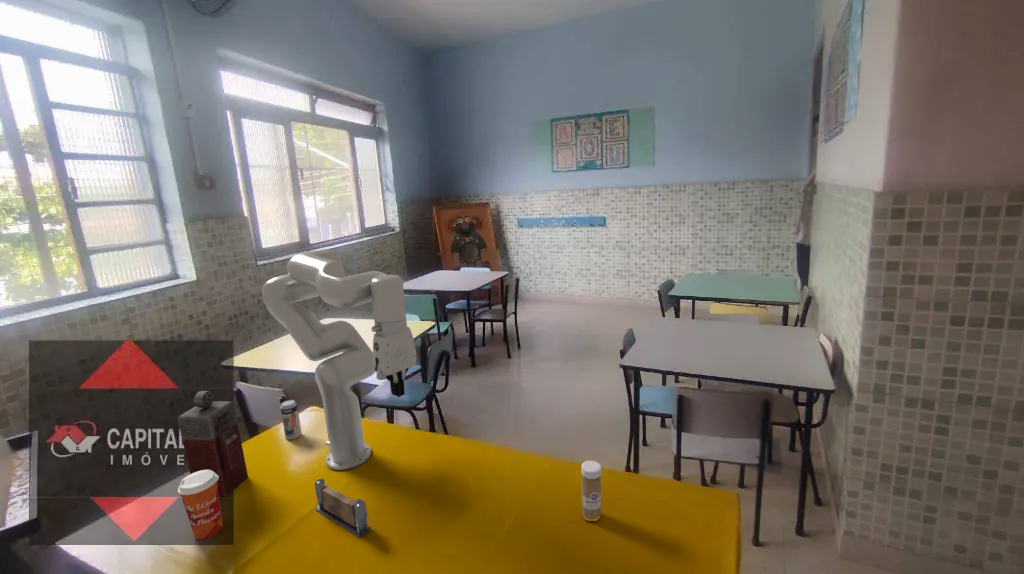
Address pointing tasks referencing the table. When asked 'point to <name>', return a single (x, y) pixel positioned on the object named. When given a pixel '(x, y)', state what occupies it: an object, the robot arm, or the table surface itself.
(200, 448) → the vintage gas pump
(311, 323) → the robot arm
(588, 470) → the sprinkles bottle
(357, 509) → the gate posts
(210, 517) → the paper cup
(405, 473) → the table surface
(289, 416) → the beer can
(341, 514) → the gate
